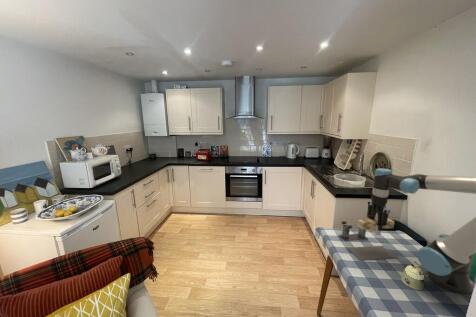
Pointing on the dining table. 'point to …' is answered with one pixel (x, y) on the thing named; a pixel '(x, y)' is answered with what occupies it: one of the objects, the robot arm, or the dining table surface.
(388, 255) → the mat
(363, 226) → the bread loaf
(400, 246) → the dining table surface
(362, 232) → the stand
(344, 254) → the dining table surface
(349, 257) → the dining table surface
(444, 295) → the dining table surface
